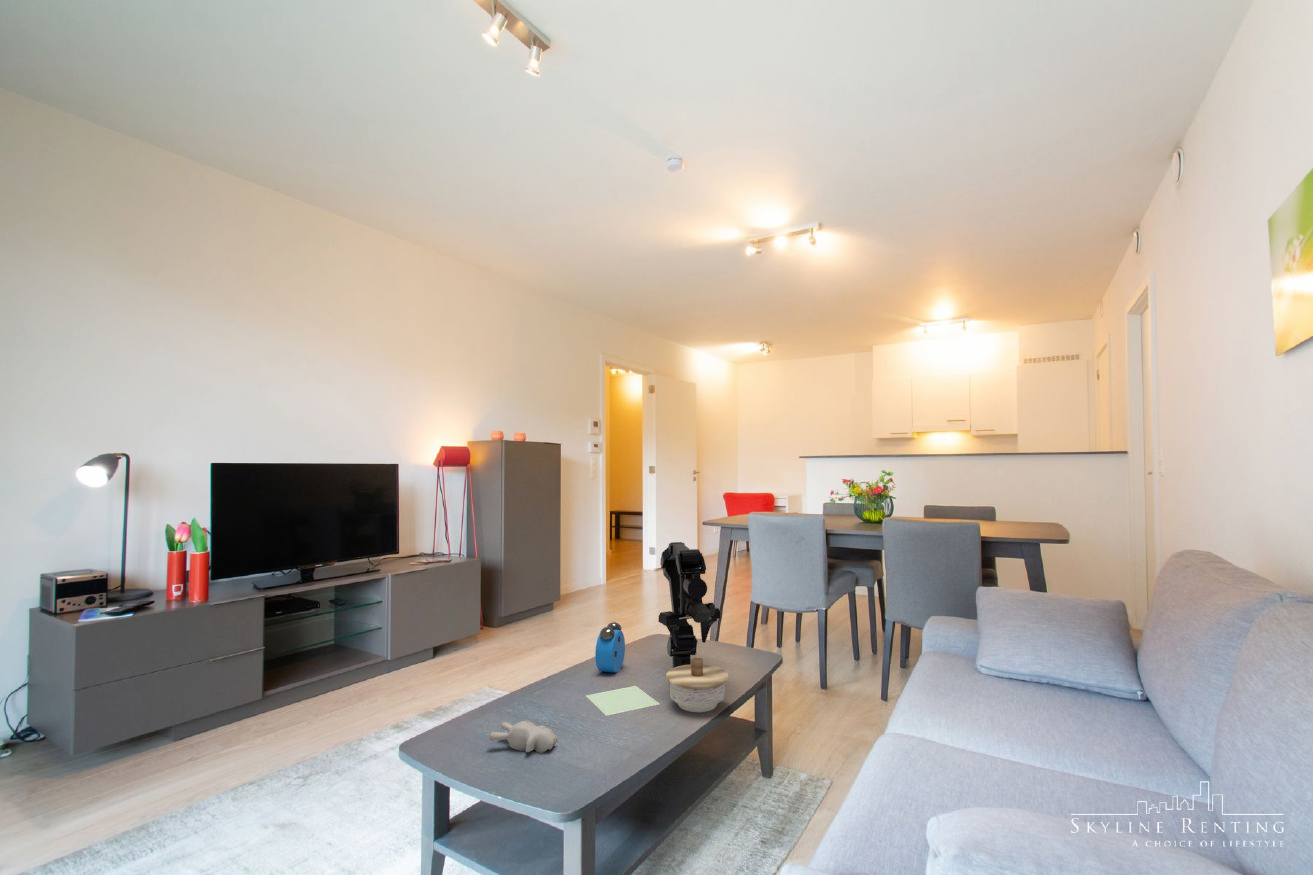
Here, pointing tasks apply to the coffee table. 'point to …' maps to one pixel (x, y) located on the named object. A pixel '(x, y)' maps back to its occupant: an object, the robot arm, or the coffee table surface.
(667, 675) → the lid
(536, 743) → the bunny figurine
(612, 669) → the alarm clock
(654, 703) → the mat
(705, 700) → the white and purple bowl
